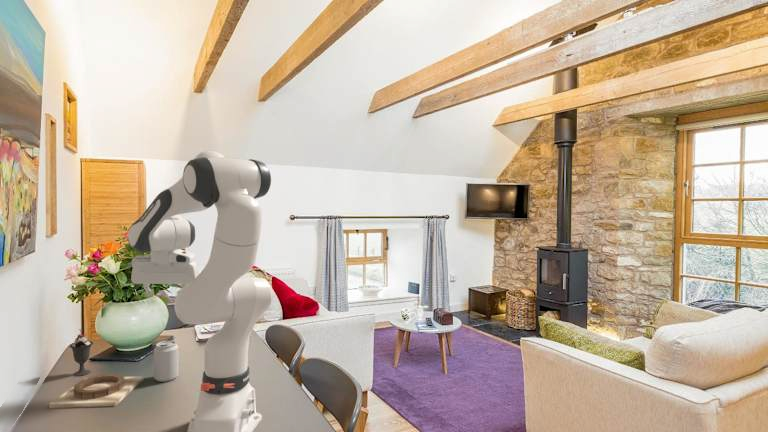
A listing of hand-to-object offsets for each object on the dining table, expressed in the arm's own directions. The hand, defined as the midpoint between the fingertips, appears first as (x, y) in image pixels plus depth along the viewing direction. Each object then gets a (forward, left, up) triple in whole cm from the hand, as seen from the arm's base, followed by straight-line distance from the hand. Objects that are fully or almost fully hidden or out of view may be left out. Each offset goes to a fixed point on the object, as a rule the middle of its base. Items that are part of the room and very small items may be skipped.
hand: (165, 296), depth 145 cm
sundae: (+6, +30, -28) cm, 41 cm away
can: (0, 0, -28) cm, 28 cm away
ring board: (-10, +16, -28) cm, 33 cm away
